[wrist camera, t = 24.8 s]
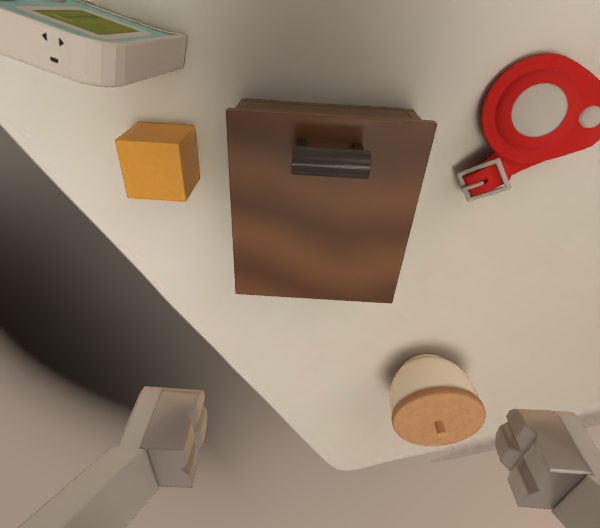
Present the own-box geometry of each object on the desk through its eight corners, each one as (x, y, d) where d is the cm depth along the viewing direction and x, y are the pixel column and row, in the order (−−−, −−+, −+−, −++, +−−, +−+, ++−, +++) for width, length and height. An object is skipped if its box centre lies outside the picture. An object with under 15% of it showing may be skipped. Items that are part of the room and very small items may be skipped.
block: (138, 121, 34) (114, 139, 30) (194, 125, 34) (178, 143, 30) (147, 175, 37) (127, 198, 33) (200, 178, 37) (186, 202, 33)
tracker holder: (498, 43, 29) (648, 59, 27) (486, 52, 33) (617, 66, 31) (453, 202, 34) (579, 225, 32) (447, 193, 38) (559, 213, 36)
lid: (227, 107, 27) (212, 128, 23) (434, 120, 27) (455, 143, 23) (236, 288, 37) (227, 326, 33) (390, 298, 37) (400, 336, 33)
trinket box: (483, 363, 51) (512, 429, 44) (424, 403, 56) (441, 468, 49) (423, 329, 48) (444, 394, 40) (366, 374, 53) (375, 440, 46)
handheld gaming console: (1, -38, 30) (188, 31, 30) (6, 5, 31) (184, 69, 32) (-168, -59, 20) (105, 41, 21) (-149, 3, 22) (105, 94, 23)
